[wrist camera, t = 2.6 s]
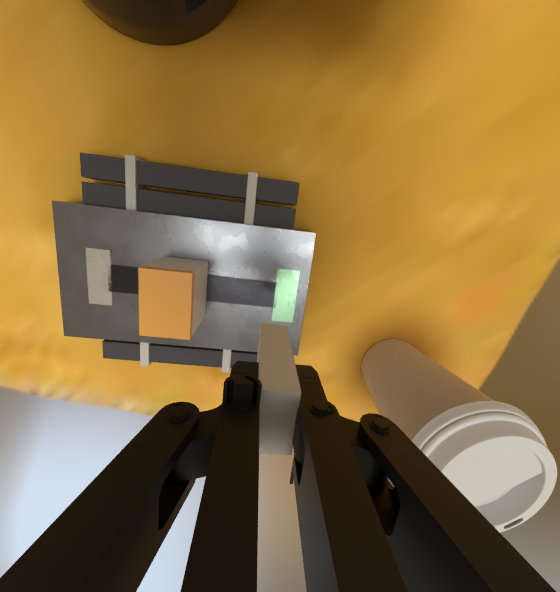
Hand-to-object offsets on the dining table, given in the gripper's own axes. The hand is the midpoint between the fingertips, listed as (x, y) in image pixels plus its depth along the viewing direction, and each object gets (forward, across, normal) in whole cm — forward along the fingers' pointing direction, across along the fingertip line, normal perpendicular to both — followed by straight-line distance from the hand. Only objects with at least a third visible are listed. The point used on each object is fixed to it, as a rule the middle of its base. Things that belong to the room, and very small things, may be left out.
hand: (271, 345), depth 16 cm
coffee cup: (+13, +14, -7) cm, 21 cm away
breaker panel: (+13, -8, 0) cm, 15 cm away
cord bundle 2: (+13, -8, -7) cm, 16 cm away
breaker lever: (+10, -7, 0) cm, 12 cm away
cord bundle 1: (+13, -8, +8) cm, 17 cm away
